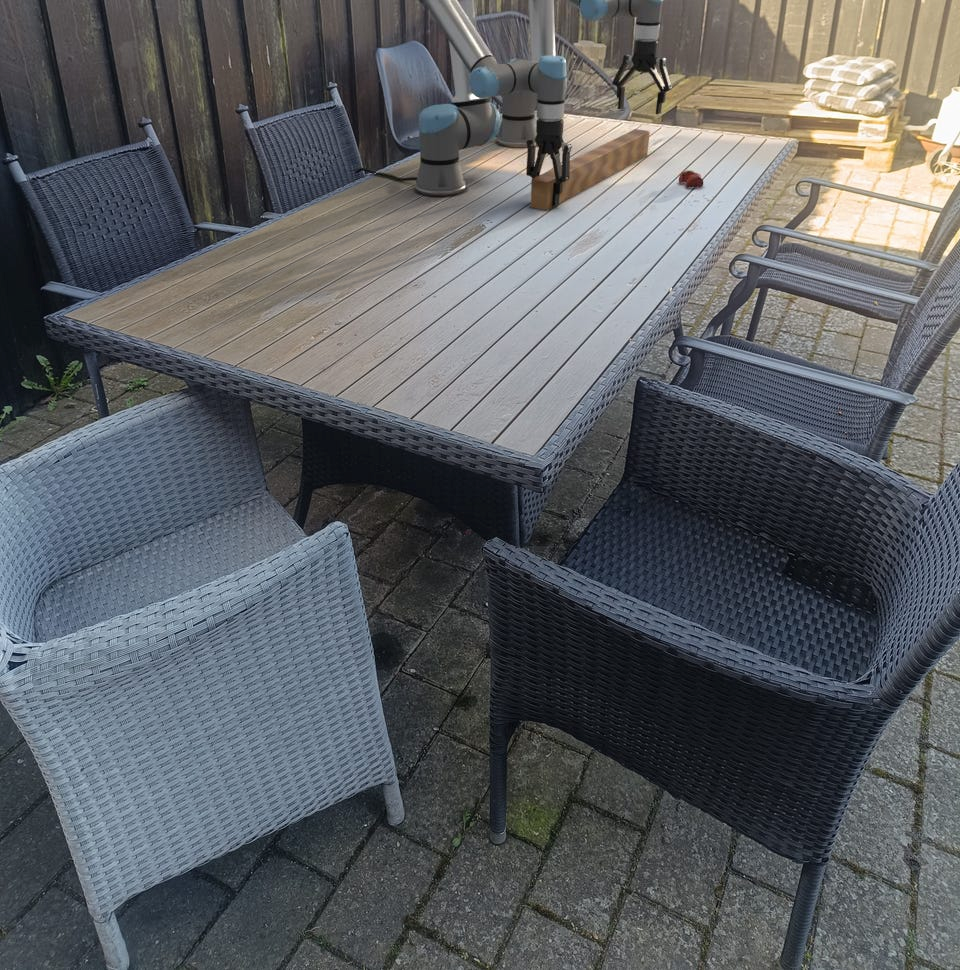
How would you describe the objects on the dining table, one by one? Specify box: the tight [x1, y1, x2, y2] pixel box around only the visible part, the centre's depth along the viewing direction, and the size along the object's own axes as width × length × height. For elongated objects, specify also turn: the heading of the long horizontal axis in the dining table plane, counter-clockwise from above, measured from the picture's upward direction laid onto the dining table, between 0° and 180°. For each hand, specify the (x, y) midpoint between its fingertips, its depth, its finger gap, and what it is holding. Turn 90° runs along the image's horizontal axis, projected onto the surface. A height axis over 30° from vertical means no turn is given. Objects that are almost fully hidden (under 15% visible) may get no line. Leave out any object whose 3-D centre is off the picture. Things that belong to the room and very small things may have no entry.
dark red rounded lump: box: [678, 169, 704, 189], centre depth 261 cm, size 6×4×8 cm
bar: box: [530, 128, 651, 211], centre depth 265 cm, size 71×5×8 cm, turn 147°
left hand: (546, 203), depth 246 cm, fingers closed on bar, 5 cm apart
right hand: (639, 111), depth 280 cm, fingers open, 13 cm apart
